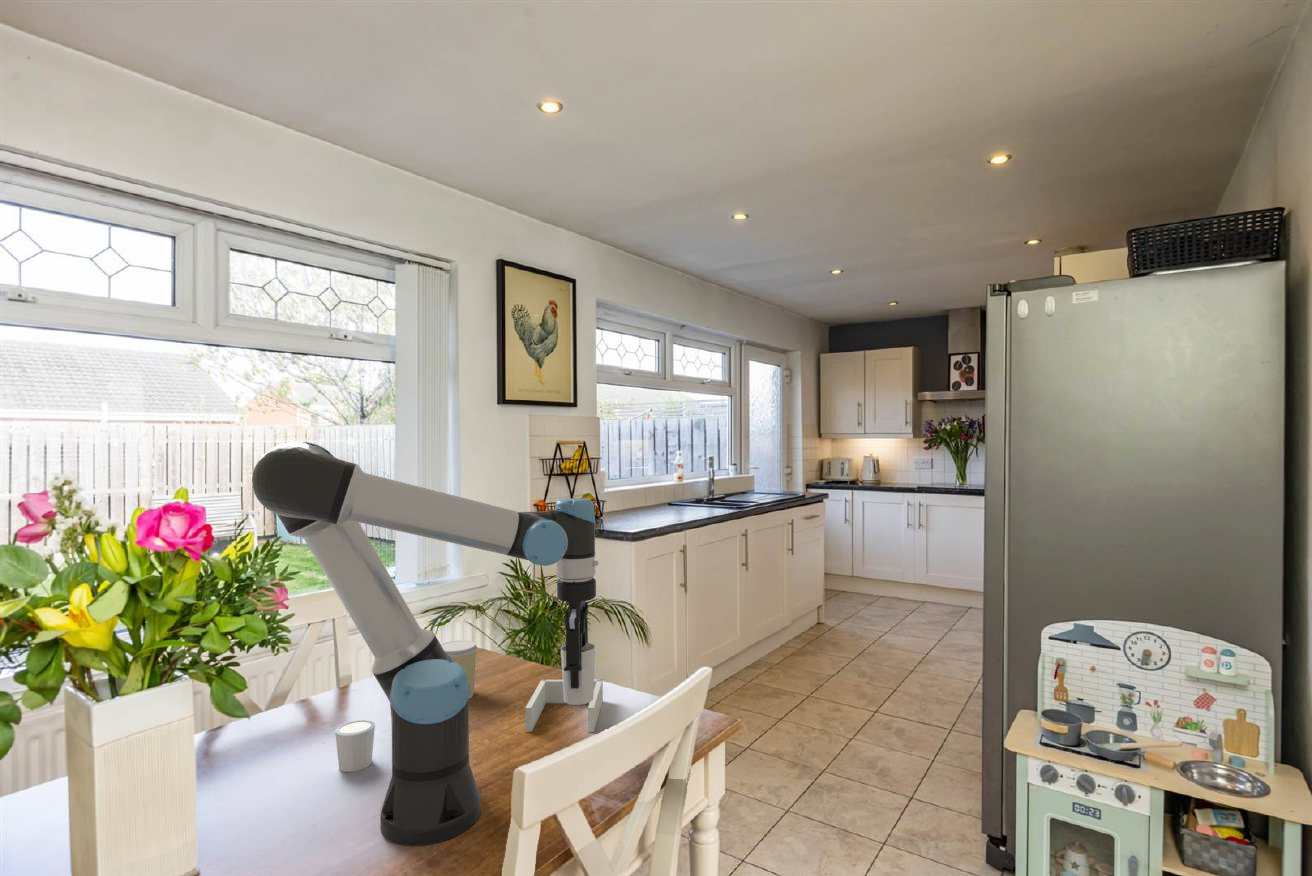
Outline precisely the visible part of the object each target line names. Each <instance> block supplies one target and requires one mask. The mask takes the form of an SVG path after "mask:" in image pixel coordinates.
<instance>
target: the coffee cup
mask: <svg viewBox="0 0 1312 876" xmlns="http://www.w3.org/2000/svg"><path fill="white" fill-rule="evenodd" d="M440 644H441V646H442V648H443V649H444V651H445V652H446V654H447V655H449V656H450V658H451V659H452V661H453V662H455V663H458V664H459V665H461V666H462V667H463V668H464V669H465V671H466V673H467V676H468V682H469V688H470V691H469V698H468V700H469V699H471V698H472V697H473V696H474V693H475V680H476V678H475V677H476V662H477V661H476V659H477V649H478V647H477V645H476V643H475V642H474V641H471V640H463V639H462V640H460V639H459V640H451V641H447V642H443V643H440Z"/></svg>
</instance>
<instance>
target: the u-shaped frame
mask: <svg viewBox="0 0 1312 876" xmlns="http://www.w3.org/2000/svg"><path fill="white" fill-rule="evenodd" d="M603 694H604V691H603V679H594V693H593V700H592V701H591V702H589V703H588V706H587V733H595V730H596V726H597V725H598V724H597V723H598V720H599V716H600V713H601V708H602V705H603V701H604V697H603V696H604V695H603ZM546 704H567V703H566V702H565V701H564V693H563V679H540V681H539V683H538V685H537V686H536V688H535V691H534V692H533V693H532V696H531V697H530V699H529V701H528V702H527V704H526V706H525V710H524V711H525V733H532V732H533V730H534V727H535V726H536V724H537V722H538V719H539V718H540V716H541V714H542V712H543V711H544V708H545V706H546Z"/></svg>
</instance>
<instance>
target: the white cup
mask: <svg viewBox="0 0 1312 876" xmlns="http://www.w3.org/2000/svg"><path fill="white" fill-rule="evenodd" d="M595 649H596V647H595V644H593V643H590V642H588V643H586V645H585V646H583V647H582V652H581V653H582V662H581V666H582V669H583V705H587V704H589V702H591V701H592V700H593V693H594V680H595V652H596V651H595ZM560 657H561V672H562V673H561V674H562V675H561V677H562V680H563V693H564V701H565V702H566V703H565V704H568V671H564V668H566V644H564V645H562V646H561V647H560Z"/></svg>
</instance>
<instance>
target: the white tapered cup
mask: <svg viewBox="0 0 1312 876" xmlns="http://www.w3.org/2000/svg"><path fill="white" fill-rule="evenodd" d="M375 726H376V724H375V722H374V721H372V720H367V719H365V720H353V721H349V722H346V723H343V724H341V725H339V726H337V727H336V729H335V730H334V734H335V735H334V736H335V743H336V744H335V745H336V751H337V760H338V770H340V771H341V772H346V773H352V772H357V771H362V770H364V769H366V768H368V767H369V766H371V764H372V761H373V751H374V739H375V730H376V727H375Z"/></svg>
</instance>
